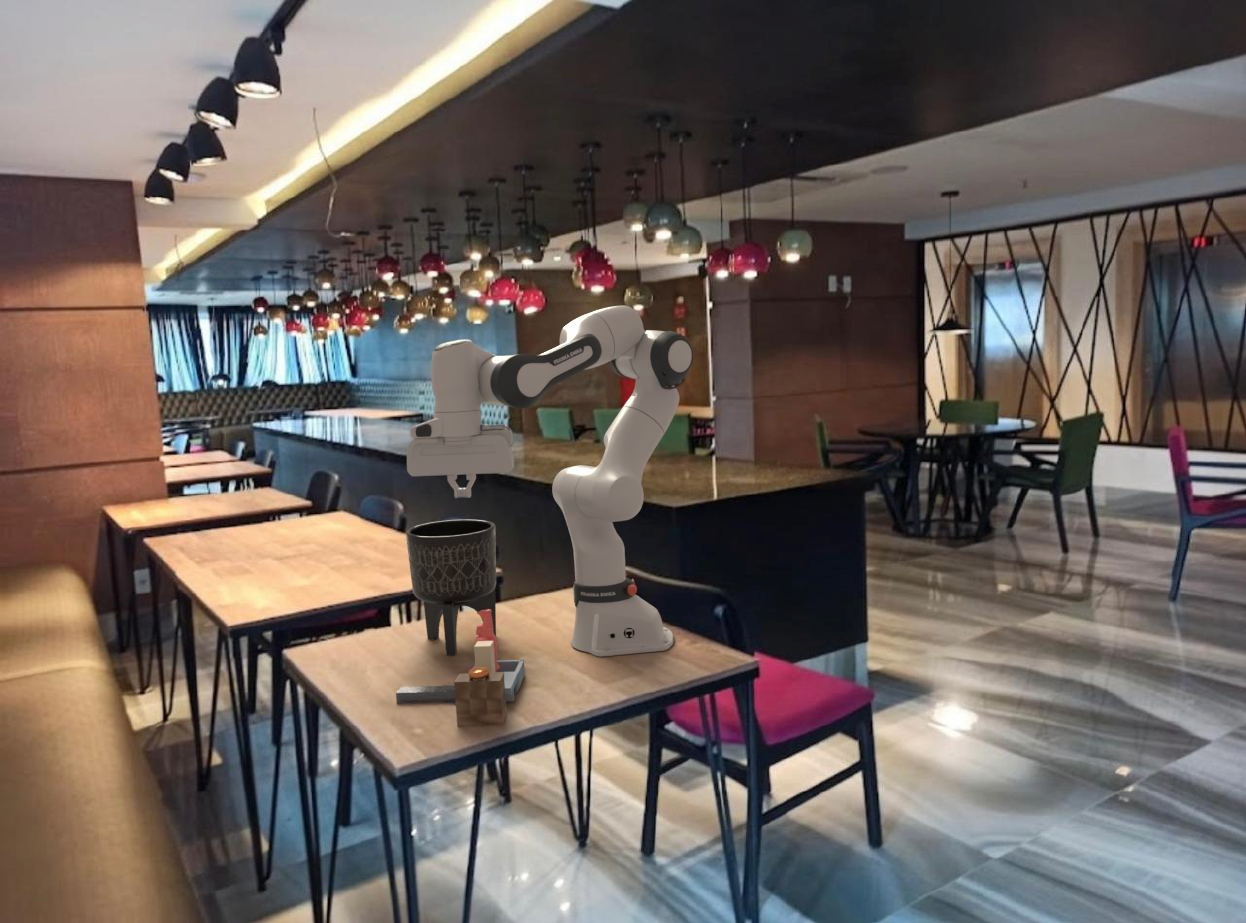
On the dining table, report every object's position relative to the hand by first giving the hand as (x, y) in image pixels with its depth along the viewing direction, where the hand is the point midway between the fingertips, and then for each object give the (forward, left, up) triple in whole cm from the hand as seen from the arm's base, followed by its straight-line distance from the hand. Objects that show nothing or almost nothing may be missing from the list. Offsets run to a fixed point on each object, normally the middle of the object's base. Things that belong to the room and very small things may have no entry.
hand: (463, 497), depth 173 cm
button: (-5, +18, -35) cm, 40 cm away
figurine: (-2, +1, -37) cm, 37 cm away
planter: (+9, -25, -37) cm, 46 cm away
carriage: (-4, +5, -37) cm, 37 cm away
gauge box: (-5, +18, -37) cm, 42 cm away
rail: (+2, +8, -37) cm, 38 cm away
